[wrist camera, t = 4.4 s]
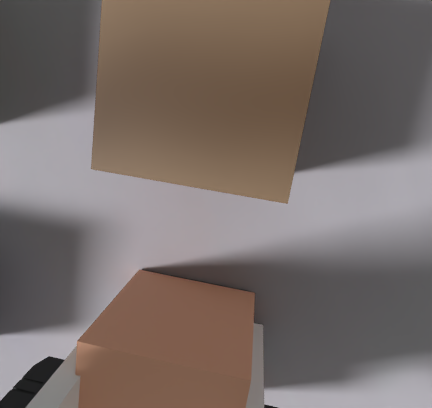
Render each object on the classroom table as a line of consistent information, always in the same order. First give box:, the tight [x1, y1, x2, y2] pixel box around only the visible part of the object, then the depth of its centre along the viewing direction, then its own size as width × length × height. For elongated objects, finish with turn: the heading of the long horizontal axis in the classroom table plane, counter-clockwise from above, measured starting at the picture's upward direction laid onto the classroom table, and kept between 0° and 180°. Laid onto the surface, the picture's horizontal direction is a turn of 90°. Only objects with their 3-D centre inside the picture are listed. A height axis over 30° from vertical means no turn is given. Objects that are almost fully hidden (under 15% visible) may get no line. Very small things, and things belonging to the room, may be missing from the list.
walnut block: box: [91, 0, 330, 204], centre depth 10 cm, size 5×5×5 cm
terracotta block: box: [75, 270, 255, 408], centre depth 12 cm, size 5×5×5 cm
